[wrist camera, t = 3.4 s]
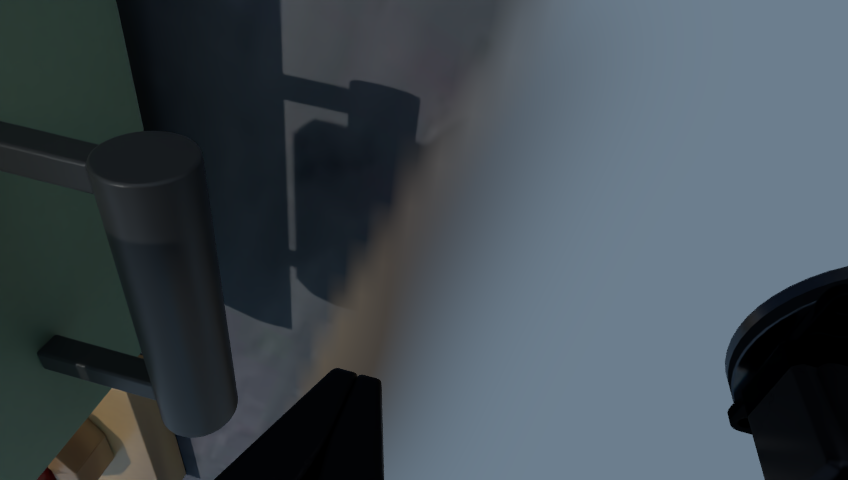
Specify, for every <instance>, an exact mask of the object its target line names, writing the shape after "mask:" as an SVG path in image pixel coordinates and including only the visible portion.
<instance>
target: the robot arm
mask: <svg viewBox="0 0 848 480" xmlns="http://www.w3.org/2000/svg"><path fill="white" fill-rule="evenodd" d="M844 301H848V284H840V285H835V286H833V287H831V288H828V289H827V290H826V291H825V292H824V293H823V294H822V295H821V296H820V297H819V299H818V300H817V301H816V302H815V304H814V305H813V306H812V307H811V308H810V310H809V311H808V312H807V313H806V315H805V316H804V317H803V318H802V320H801V321H800V322H799V323H798V324H797V326H796V327H795V328H794V329H793V331H792V332H791V333H790V334H789V335H788V337H787V338H786V339H785V340H784V341H783V342H782V343H780V344H779V345H778V347H777V348H776V349H775V350H774V352H773V353H772V354H771V355H770V357H769V358H768V359H767V360H766V362H765V363H764V364H763V365H762V366H761V368H760V369H759V370H758V371H757V373H756V374H755V375H754V376H753V378H752V379H751V380H750V381H749V382H748V384H747V385H746V386H745V387H744V389H743V390H742V392H741V394H740V396H739V397H738V398H737V399H736V401H735V402H734V403H733V404H732V405H731V407H730V408H729V409H728V412H727V413H728V418H729V422H730V425H731V427H732V428H733V429H735V430H737V431H740V432H744V433H748V434H752V435H753V438H754V442H755V446H756V449H757V453H758V456H759V460H760V463H761V467H762V471H763V474H764V478H765V480H848V303H845V304H840V303H841V302H844ZM214 480H384V463H383V423H382V387H381V381H380V380H379V379H377V378H373V377H369V376H366V375H359V376H358V377H357V374H356V373H354V372H350V371H347V370H343V369H340V368H335V369H333V370H331V371H330V372H329V373H328V374H327V375H326V376H325V377H324V378H322V379H321V380H320V381H319V382H318V383H317V384H316V385H315V386H314V387H313V388H312V389H311V390H310V391H309V392H307V393H306V394H305V395H304V396H303V397H302V398H301V399H300V400H299V401H298V402H297V403H296V404H295V405H294V406H292V407H291V408H290V409H289V410H288V411H287V412H286V413H285V414H284V415H283V416H282V417H281V418H280V419H279V420H277V421H276V422H275V423H274V424H273V425H272V426H271V427H270V428H269V429H268V430H267V431H266V432H265V433H264V434H262V435H261V436H260V437H259V438H258V439H257V440H256V441H255V442H254V443H253V444H252V445H251V446H250V447H249V448H247V449H246V450H245V451H244V452H243V453H242V454H241V455H240V456H239V457H238V458H237V459H236V460H235V461H234V462H232V463H231V464H230V465H229V466H228V467H227V468H226V469H225V470H224V471H223V472H222V473H221V474H220V475H218V476H217V477H216V478H215V479H214Z"/></svg>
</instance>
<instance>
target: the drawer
mask: <svg viewBox="0 0 848 480" xmlns="http://www.w3.org/2000/svg"><path fill="white" fill-rule="evenodd" d="M141 352H142V355H143V358H144V359H143V358H139V357H138V356H139V354H140V353H141ZM112 388H114V389H117V390H121V391H124V392H128V393H131V394H135V395H138V396H142V397H145V398H149V399H152V400H156V401H157V405H158V408H159V411H160V414H161V418H162V421H163V423H164V425H165V426H166V427H167V428H168V429H169V430H170V431H171V432H173V433H175V434H177V435H179V436H183V437H190V438H191V437H201V436H206V435H208V434H211V433H213V432H215V431H217V430H219V429H220V428H222V427H223V426H224V425H225V424H226V423H227V422H228V421H229V420H230V419H231V417H232V416H233V414H234V412H235V410H236V408H237V403H238V396H237V389H236V382H235V375H234V368H233V361H232V354H231V347H230V340H229V333H228V326H227V320H226V313H225V306H224V299H223V292H222V285H221V278H220V271H219V264H218V257H217V250H216V243H215V236H214V229H213V222H212V215H211V208H210V201H209V195H208V188H207V181H206V174H205V167H204V160H203V153H202V151H201V149H200V147H199V146H198V145H197V144H196V143H195V142H194V141H193V140H191V139H190V138H188V137H185V136H183V135H180V134H176V133H172V132H165V131H144V129H143V124H142V119H141V115H140V110H139V105H138V101H137V96H136V91H135V87H134V82H133V77H132V73H131V68H130V63H129V59H128V54H127V49H126V45H125V40H124V35H123V31H122V26H121V21H120V17H119V12H118V7H117V3H116V0H0V480H37V479H38V477H39V476H40V475H41V474H42V473H43V471H44V470H45V469H46V468H47V467H48V465H49V464H50V463H51V462H52V460H53V459H54V458H55V457H56V456H57V454H58V453H59V452H60V451H61V449H62V448H63V447H64V446H65V445H66V443H67V442H68V441H69V440H70V438H71V437H72V436H73V435H74V434H75V432H76V431H77V430H78V429H79V428H80V426H81V425H82V424H83V423H84V421H85V420H86V419H87V418H88V417H89V415H90V414H91V413H92V412H93V410H94V409H95V408H96V407H97V406H98V404H99V403H100V402H101V401H102V399H103V398H104V397H105V396H106V395H107V393H108V392H109V391H110V390H111V389H112Z"/></svg>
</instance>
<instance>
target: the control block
mask: <svg viewBox="0 0 848 480" xmlns="http://www.w3.org/2000/svg"><path fill="white" fill-rule="evenodd" d="M138 357H139V358H143V355H140V354H139V356H138ZM143 359H144V358H143ZM48 468H49V469H50V470H51V471H52V472H53V474H54V476H55V478H54V480H182V479H183V478H184V476H185V474H186V471H185V468H184V464H183V461H182V457H181V454H180V450H179V447H178V443H177V440H176V436H175V433H173V432H171V431H170V430H169V429H168V428H167V427H166V426H165V425H164V423H163V421H162V418H161V414H160V411H159V408H158V405H157V401H156V400H152V399H149V398H145V397H142V396H138V395H135V394H131V393H128V392H124V391H121V390H117V389H114V388H112V389H111V390H110V391H109V392H108V393H107V395H106V396H105V397H104V398H103V399H102V401H101V402H100V403H99V404H98V406H97V407H96V408H95V409H94V410H93V412H92V413H91V414H90V415H89V417H88V418H87V419H86V420H85V421H84V423H83V424H82V425H81V426H80V428H79V429H78V430H77V431H76V432H75V434H74V435H73V436H72V437H71V438H70V440H69V441H68V442H67V443H66V445H65V446H64V447H63V448H62V449H61V451H60V452H59V453H58V454H57V456H56V457H55V458H54V459H53V460H52V462H51V463H50V464H49V465H48Z"/></svg>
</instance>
